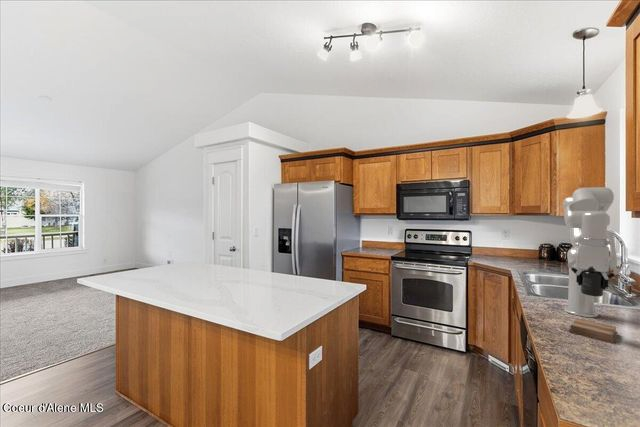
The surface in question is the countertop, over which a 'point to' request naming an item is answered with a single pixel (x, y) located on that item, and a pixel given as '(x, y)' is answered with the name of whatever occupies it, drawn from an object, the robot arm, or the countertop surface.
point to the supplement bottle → (591, 282)
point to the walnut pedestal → (594, 330)
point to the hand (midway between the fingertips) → (591, 286)
